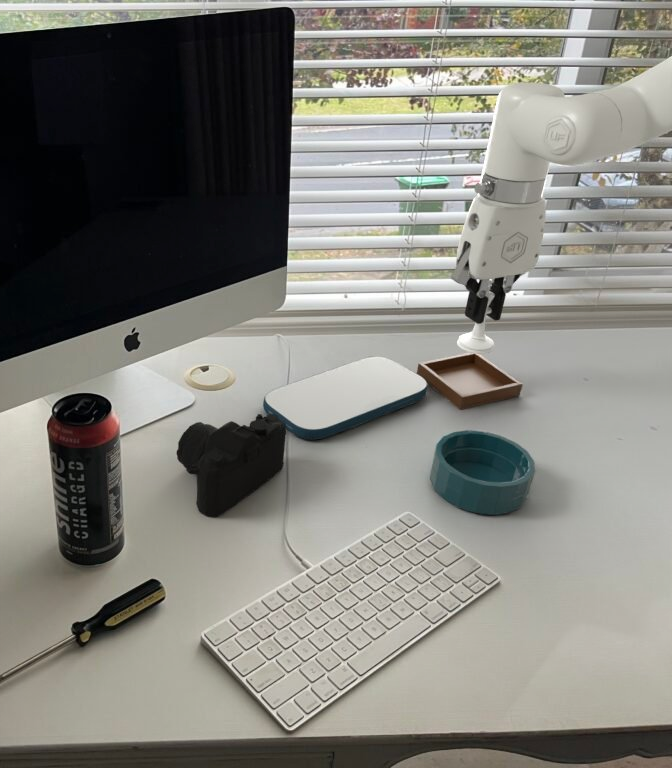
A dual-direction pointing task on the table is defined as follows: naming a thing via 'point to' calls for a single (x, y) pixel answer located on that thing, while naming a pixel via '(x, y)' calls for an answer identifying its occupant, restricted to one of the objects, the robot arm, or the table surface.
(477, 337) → the chess piece
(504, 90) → the robot arm
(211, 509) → the film camera
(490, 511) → the dish
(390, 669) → the table surface
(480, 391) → the tray
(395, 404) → the external hard drive
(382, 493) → the table surface
